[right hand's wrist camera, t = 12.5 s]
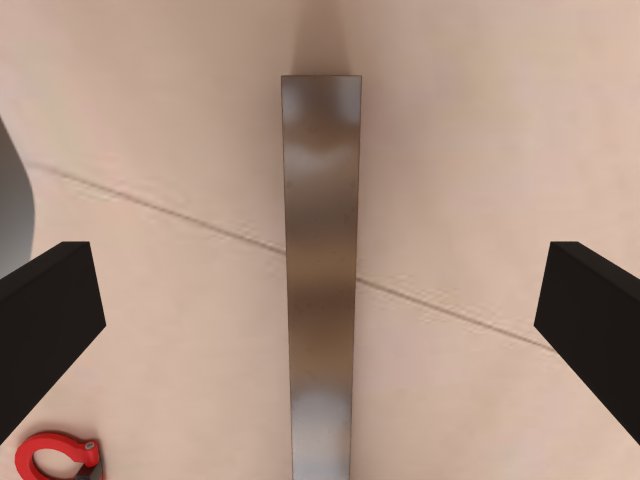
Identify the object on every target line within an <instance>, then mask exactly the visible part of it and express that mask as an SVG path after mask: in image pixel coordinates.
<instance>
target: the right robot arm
mask: <svg viewBox="0 0 640 480" xmlns="http://www.w3.org/2000/svg"><path fill="white" fill-rule="evenodd" d="M105 327H106V322H105V317H104V312H103V307H102V302H101V297H100V292H99V287H98V282H97V277H96V272H95V267H94V262H93V257H92V252H91V247H90V242H61V243H59V244H58V245H56V246H54V247H53V248H51V249H49V250H48V251H46V252H44V253H43V254H41V255H40V256H38V257H36V258H35V259H33V260H31V261H30V262H28V263H26V264H25V265H23V266H22V267H20V268H18V269H17V270H15V271H13V272H12V273H10V274H8V275H7V276H5V277H4V278H2V279H0V445H1V444H2V443H3V442H4V441H5V440H6V438H7V437H8V436H9V435H10V434H11V433H12V432H13V430H14V429H15V428H16V427H17V426H18V425H19V424H20V423H21V421H22V420H23V419H24V418H25V417H26V416H27V415H28V414H29V412H30V411H31V410H32V409H33V408H34V407H35V406H36V405H37V403H38V402H39V401H40V400H41V399H42V398H43V397H44V395H45V394H46V393H47V392H48V391H49V390H50V389H51V388H52V386H53V385H54V384H55V383H56V382H57V381H58V380H59V379H60V377H61V376H62V375H63V374H64V373H65V372H66V371H67V370H68V368H69V367H70V366H71V365H72V364H73V363H74V362H75V360H76V359H77V358H78V357H79V356H80V355H81V354H82V353H83V351H84V350H85V349H86V348H87V347H88V346H89V345H90V344H91V342H92V341H93V340H94V339H95V338H96V337H97V336H98V334H99V333H100V332H101V331H102V330H103V329H104V328H105ZM534 327H535V328H536V329H537V330H538V331H539V332H540V333H541V334H542V336H543V337H544V338H545V339H546V340H547V341H548V342H549V344H550V345H551V346H552V347H553V348H554V349H555V350H556V351H557V353H558V354H559V355H560V356H561V357H562V358H563V359H564V360H565V362H566V363H567V364H568V365H569V366H570V367H571V368H572V370H573V371H574V372H575V373H576V374H577V375H578V376H579V377H580V379H581V380H582V381H583V382H584V383H585V384H586V385H587V386H588V388H589V389H590V390H591V391H592V392H593V393H594V394H595V395H596V397H597V398H598V399H599V400H600V401H601V402H602V403H603V405H604V406H605V407H606V408H607V409H608V410H609V411H610V412H611V414H612V415H613V416H614V417H615V418H616V419H617V420H618V421H619V423H620V424H621V425H622V426H623V427H624V428H625V429H626V430H627V432H628V433H629V434H630V435H631V436H632V437H633V438H634V440H635V441H636V442H637V443H638V444H639V445H640V279H638V278H636V277H635V276H633V275H632V274H630V273H628V272H627V271H625V270H623V269H622V268H620V267H618V266H617V265H615V264H614V263H612V262H610V261H609V260H607V259H605V258H604V257H602V256H600V255H599V254H597V253H596V252H594V251H592V250H591V249H589V248H587V247H586V246H584V245H582V244H581V243H579V242H550V247H549V252H548V257H547V262H546V267H545V272H544V277H543V282H542V287H541V292H540V297H539V302H538V307H537V312H536V317H535V322H534Z"/></svg>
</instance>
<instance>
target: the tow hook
mask: <svg viewBox="0 0 640 480" xmlns="http://www.w3.org/2000/svg"><path fill="white" fill-rule="evenodd" d="M39 449H54V450H58V451H60V452H62V453H64V454H66V455H67V456H69V457H70V458H71V459H72V460H73V461H74V462H81V463H84V464H83V466H82V467H81V468H80V470H79V471H78V473H77V474H76V476H75V480H102V466H101V460H100V458H99V453H98V446H97V442H95V441H89V442H87V443H85V444H78V443H77V442H75V441H74V440H72V439H70V438H68V437H65V436H62V435H58V434H53V433H42V434H36V435H34V436H31V437H29V438H27V439H26V440H25V441H24V442H23V443H22V444H21V445H20V447H19V448H18V449H17V452H16V454H15V465H16V468H17V471H18V473H19V474H20V476H21V477H22V479H23V480H50V479H48V478H46V477H44V476H43V475H42V474H40V473H39V472H38V471H37V470H36V468H35V466H34V465H33V461H32V455H33V453H34V452H35V451H37V450H39Z"/></svg>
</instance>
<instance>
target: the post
mask: <svg viewBox="0 0 640 480" xmlns="http://www.w3.org/2000/svg"><path fill="white" fill-rule="evenodd" d="M361 86H362V76H281V93H282V127H283V161H284V195H285V229H286V263H287V297H288V330H289V364H290V398H291V432H292V466H293V480H349V476H350V443H351V411H352V378H353V346H354V313H355V281H356V248H357V216H358V183H359V151H360V118H361Z"/></svg>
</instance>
